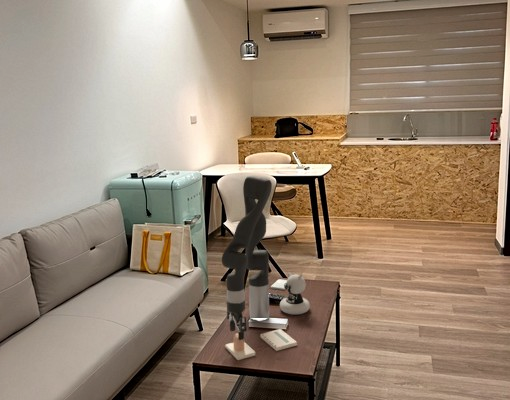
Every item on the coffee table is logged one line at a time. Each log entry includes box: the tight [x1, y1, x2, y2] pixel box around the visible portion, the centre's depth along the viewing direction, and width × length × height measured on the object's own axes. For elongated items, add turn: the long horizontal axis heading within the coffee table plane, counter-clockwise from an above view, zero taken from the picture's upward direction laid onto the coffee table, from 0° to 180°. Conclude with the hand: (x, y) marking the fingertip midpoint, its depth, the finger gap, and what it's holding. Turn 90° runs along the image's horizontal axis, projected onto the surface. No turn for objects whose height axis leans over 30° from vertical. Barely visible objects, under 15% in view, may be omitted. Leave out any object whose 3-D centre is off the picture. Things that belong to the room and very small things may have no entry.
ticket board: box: [259, 328, 298, 352], centre depth 229 cm, size 14×10×2 cm
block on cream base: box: [225, 332, 256, 361], centre depth 220 cm, size 12×8×7 cm, turn 27°
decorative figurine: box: [279, 271, 311, 316], centre depth 258 cm, size 15×15×20 cm
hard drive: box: [269, 278, 287, 291], centre depth 292 cm, size 2×8×12 cm
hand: (236, 335), depth 219 cm, fingers open, 8 cm apart
